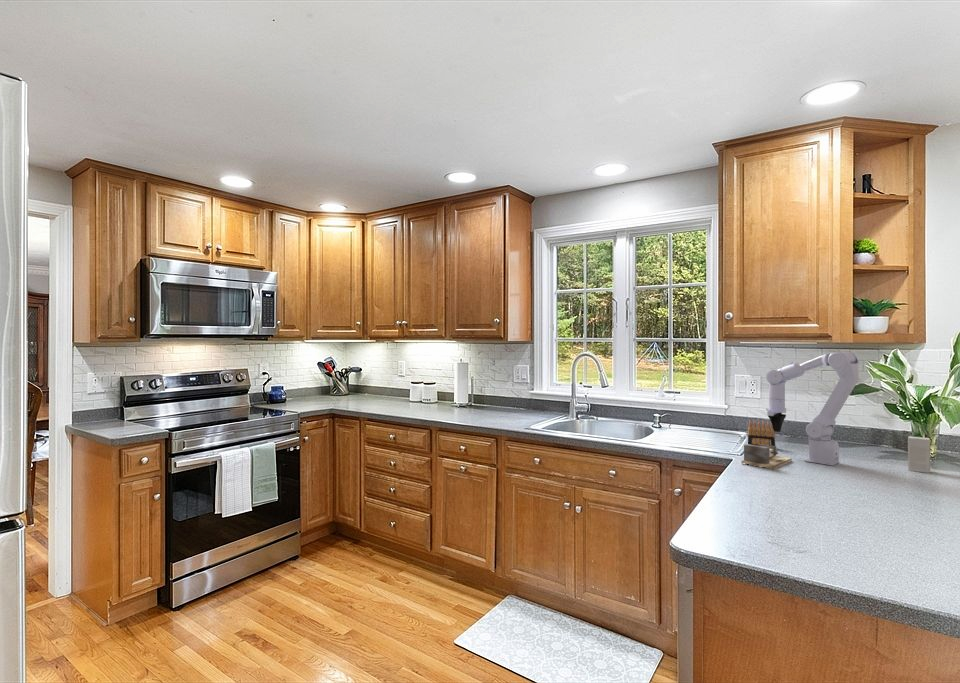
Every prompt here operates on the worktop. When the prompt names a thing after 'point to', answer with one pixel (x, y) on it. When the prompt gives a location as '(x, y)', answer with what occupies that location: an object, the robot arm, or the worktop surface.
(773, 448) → the gauge ram
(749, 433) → the ammunition clip
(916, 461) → the skincare box
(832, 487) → the worktop surface
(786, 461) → the gauge bench
